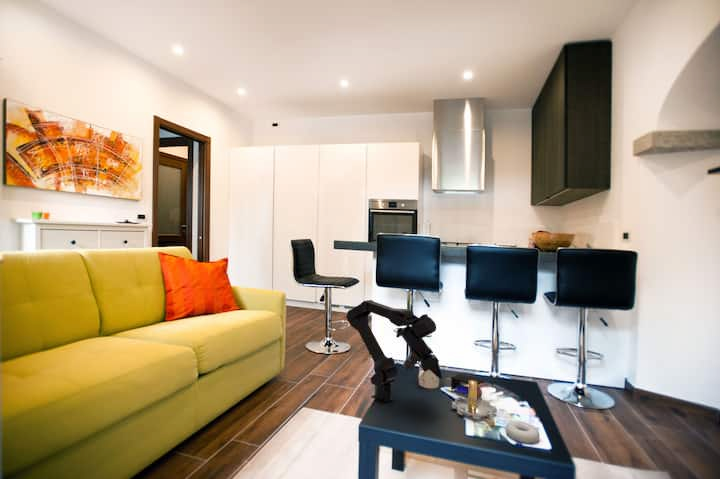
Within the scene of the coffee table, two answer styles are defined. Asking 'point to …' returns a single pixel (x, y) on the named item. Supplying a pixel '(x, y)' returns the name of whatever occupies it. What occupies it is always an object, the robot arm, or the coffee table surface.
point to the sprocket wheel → (474, 404)
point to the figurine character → (456, 384)
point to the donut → (522, 432)
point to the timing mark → (490, 421)
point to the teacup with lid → (428, 379)
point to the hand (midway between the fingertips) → (440, 378)
